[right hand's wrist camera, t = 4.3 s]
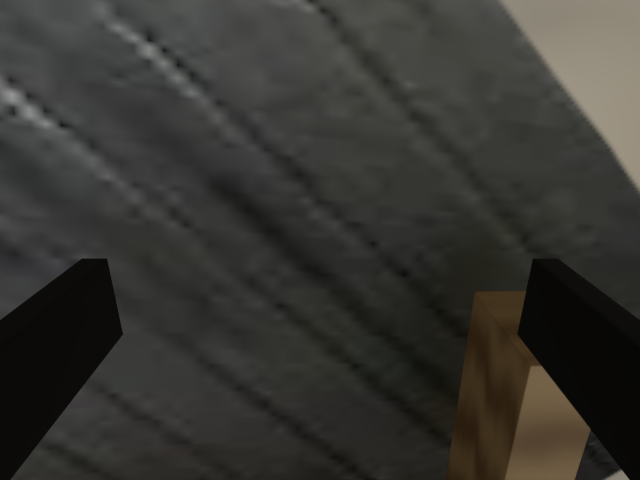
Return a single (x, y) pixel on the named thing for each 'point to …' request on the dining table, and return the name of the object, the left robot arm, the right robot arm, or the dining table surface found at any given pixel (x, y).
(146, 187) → the dining table surface
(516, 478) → the bar
